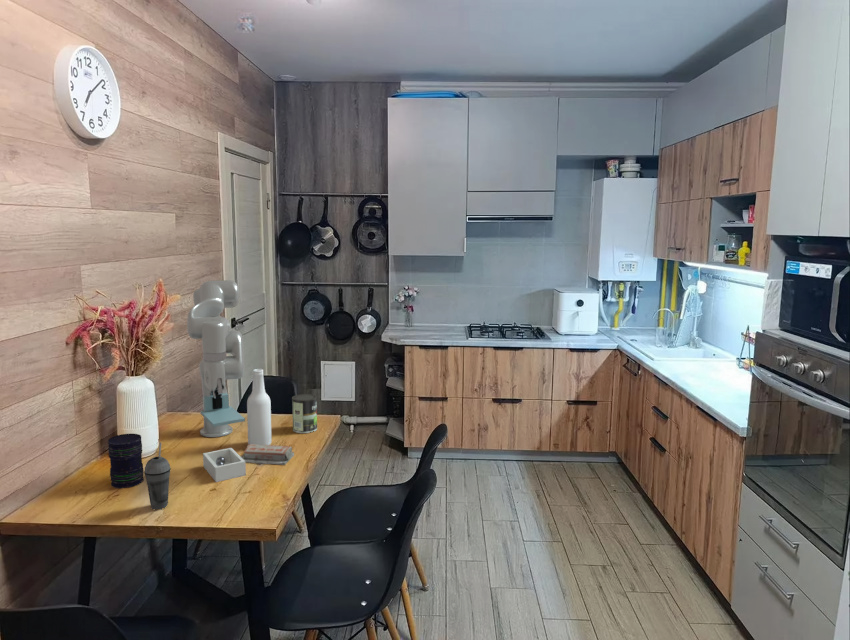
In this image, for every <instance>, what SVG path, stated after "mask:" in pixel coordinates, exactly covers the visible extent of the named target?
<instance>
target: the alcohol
mask: <svg viewBox="0 0 850 640" xmlns="http://www.w3.org/2000/svg"><path fill="white" fill-rule="evenodd" d="M265 388H266V387H265V378H264V369H263V368H255V369H252V391H251V393H250V394H249V395H248V398H247V401H246V410H247V411H246V415H247V420H246V421H247V445H249V444H259V445H272V410H271V409H272V406H271V402H272V401H271V398H270V396H269V395H268V393H267V392H266V389H265Z"/></svg>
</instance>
